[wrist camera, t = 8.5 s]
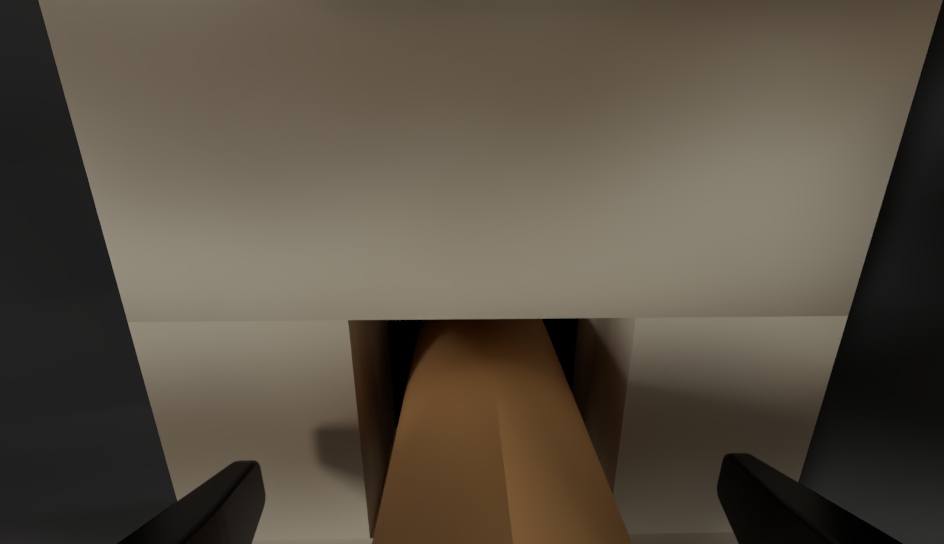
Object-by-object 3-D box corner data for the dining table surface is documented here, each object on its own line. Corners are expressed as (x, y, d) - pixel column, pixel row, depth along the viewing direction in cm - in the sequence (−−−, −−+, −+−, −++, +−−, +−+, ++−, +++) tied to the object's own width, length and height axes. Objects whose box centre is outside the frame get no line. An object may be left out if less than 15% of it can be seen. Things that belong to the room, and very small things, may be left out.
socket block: (678, 521, 16) (747, 649, 12) (281, 528, 15) (221, 661, 12) (810, -151, 9) (1043, -335, 6) (155, -158, 9) (-60, -352, 5)
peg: (545, 404, 14) (718, 1003, 4) (419, 406, 14) (321, 1016, 4) (552, 286, 13) (818, 774, 3) (413, 287, 13) (257, 790, 3)
